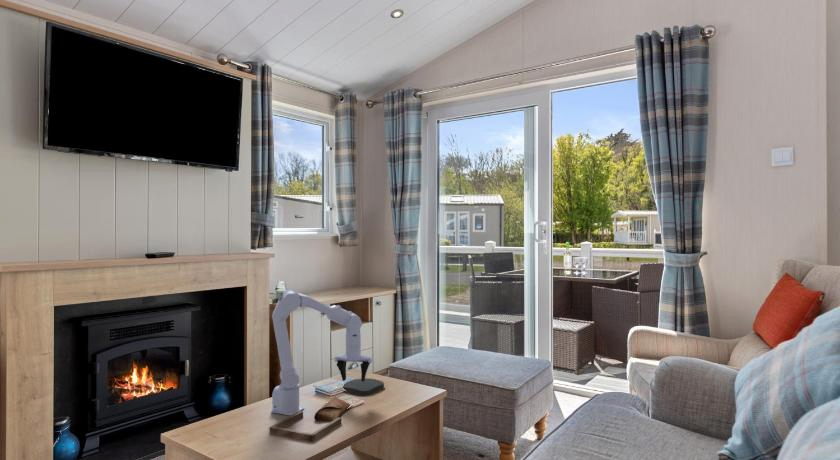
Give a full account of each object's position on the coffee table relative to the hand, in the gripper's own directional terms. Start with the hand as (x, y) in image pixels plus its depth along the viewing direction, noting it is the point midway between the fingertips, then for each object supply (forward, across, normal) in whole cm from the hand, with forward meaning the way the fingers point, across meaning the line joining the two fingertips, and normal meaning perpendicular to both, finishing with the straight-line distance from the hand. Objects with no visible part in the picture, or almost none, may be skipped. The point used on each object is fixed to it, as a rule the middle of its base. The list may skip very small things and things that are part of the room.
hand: (353, 380), depth 195 cm
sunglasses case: (+9, -4, -11) cm, 15 cm away
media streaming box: (+9, -2, +17) cm, 20 cm away
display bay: (+9, -8, -27) cm, 29 cm away
